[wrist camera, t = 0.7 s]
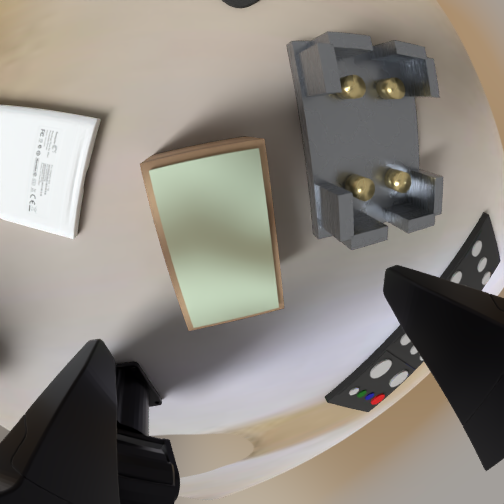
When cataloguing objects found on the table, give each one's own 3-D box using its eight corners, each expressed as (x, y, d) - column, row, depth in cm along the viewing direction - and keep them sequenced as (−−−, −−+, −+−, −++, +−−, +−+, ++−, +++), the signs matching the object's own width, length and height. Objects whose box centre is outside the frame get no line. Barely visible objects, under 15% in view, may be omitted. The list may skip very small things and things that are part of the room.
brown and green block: (263, 270, 22) (285, 311, 17) (186, 288, 21) (188, 334, 16) (244, 136, 17) (266, 139, 13) (152, 154, 16) (138, 164, 12)
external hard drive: (-20, 103, 11) (104, 118, 15) (-33, 201, 14) (79, 233, 18) (-32, 103, 9) (96, 118, 14) (-44, 206, 12) (72, 241, 16)
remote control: (322, 393, 32) (328, 405, 30) (480, 210, 26) (492, 216, 24) (364, 405, 36) (369, 414, 34) (493, 256, 30) (502, 262, 29)
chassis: (411, 209, 22) (441, 225, 19) (313, 234, 21) (338, 256, 18) (399, 52, 16) (432, 47, 13) (286, 44, 15) (310, 27, 11)
